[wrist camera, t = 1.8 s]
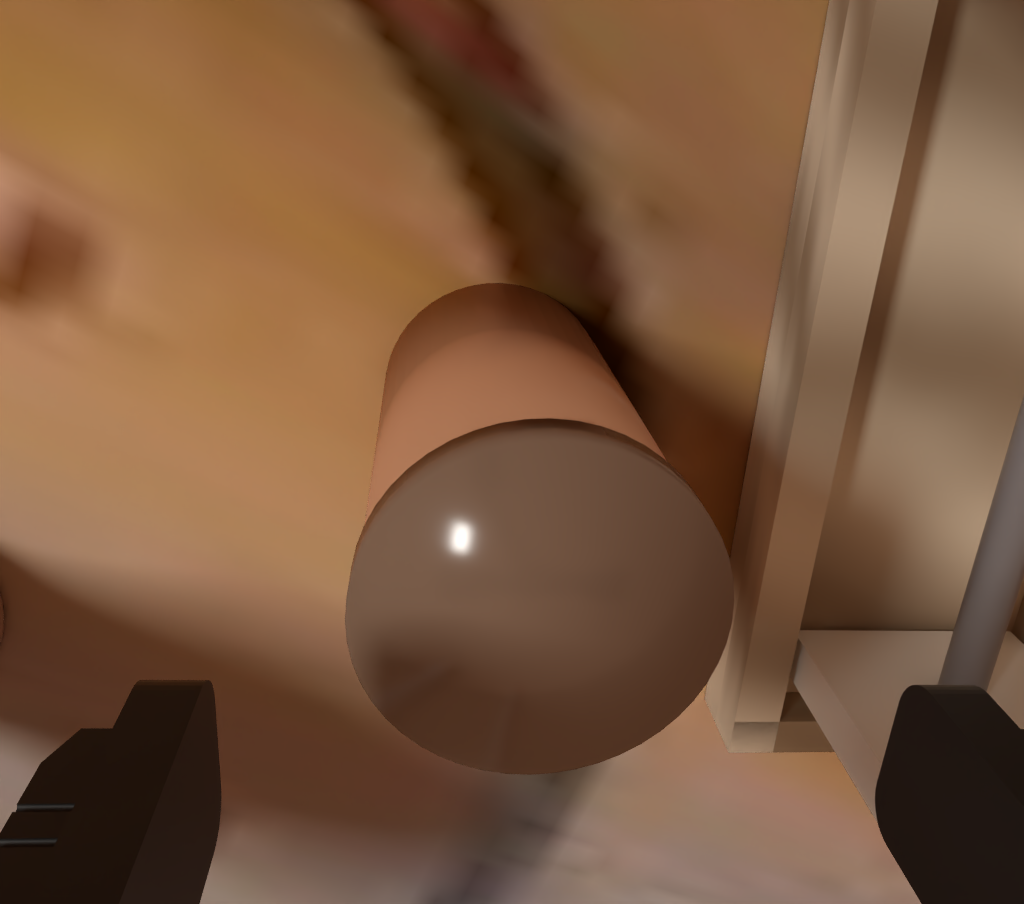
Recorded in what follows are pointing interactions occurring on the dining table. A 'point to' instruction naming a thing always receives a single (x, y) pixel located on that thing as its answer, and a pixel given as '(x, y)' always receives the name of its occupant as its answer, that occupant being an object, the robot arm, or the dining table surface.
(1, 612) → the beer glass
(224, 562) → the dining table surface
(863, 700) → the pusher
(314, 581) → the dining table surface
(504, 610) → the jar
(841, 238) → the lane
